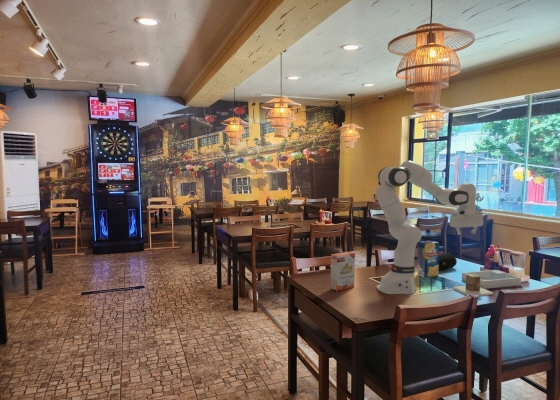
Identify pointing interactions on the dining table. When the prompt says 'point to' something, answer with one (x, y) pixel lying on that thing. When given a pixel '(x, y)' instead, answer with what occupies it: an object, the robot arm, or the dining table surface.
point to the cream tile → (465, 291)
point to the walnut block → (473, 282)
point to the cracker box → (342, 270)
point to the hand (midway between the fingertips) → (466, 234)
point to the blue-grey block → (497, 275)
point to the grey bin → (488, 283)
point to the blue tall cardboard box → (428, 258)
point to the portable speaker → (447, 261)
